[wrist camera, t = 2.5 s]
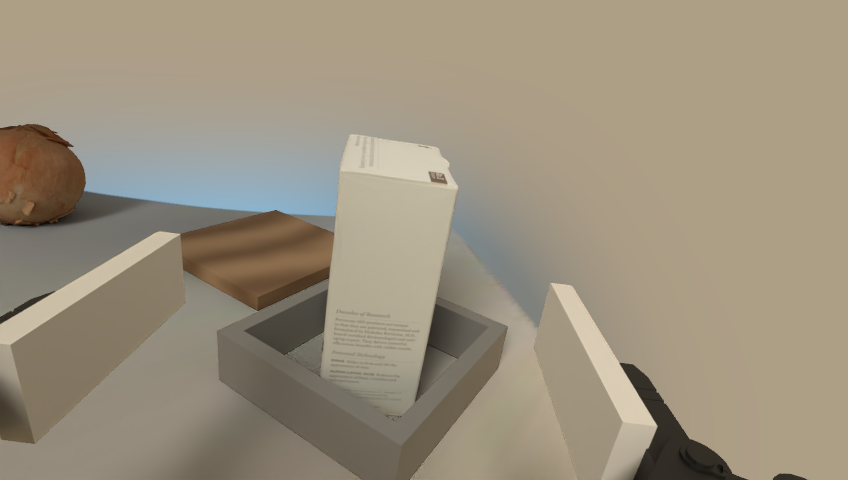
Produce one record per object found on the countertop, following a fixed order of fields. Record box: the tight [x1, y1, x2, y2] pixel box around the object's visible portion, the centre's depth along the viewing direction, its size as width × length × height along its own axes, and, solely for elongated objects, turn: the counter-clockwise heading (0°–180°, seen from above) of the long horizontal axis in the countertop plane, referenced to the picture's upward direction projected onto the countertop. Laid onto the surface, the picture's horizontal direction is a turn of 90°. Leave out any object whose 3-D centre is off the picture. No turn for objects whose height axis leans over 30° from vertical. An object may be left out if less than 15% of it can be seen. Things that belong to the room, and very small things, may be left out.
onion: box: [0, 124, 86, 226], centre depth 42 cm, size 10×9×10 cm
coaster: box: [180, 210, 334, 311], centre depth 43 cm, size 14×14×1 cm
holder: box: [217, 279, 508, 480], centre depth 29 cm, size 13×13×4 cm
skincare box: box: [320, 134, 459, 416], centre depth 27 cm, size 8×6×15 cm
